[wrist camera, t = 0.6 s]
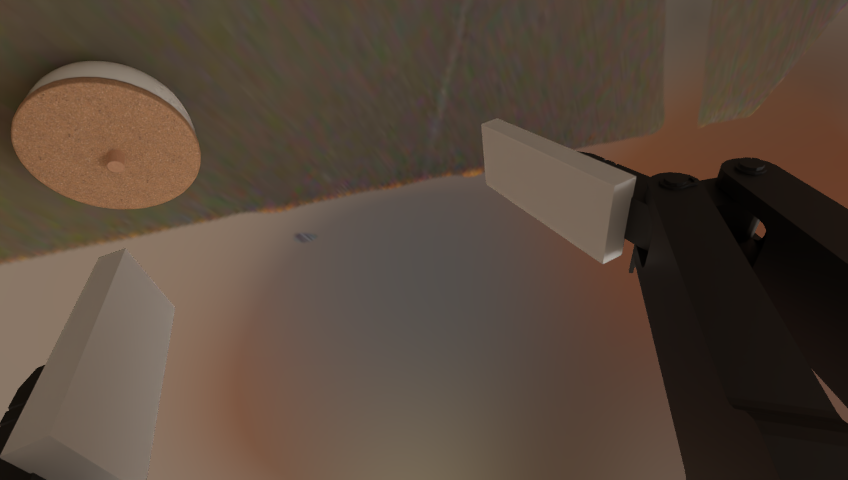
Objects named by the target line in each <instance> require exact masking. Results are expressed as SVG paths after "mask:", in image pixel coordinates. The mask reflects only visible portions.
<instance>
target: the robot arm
mask: <svg viewBox="0 0 848 480" xmlns="http://www.w3.org/2000/svg"><path fill="white" fill-rule="evenodd" d="M481 126H482V139H483V151H484V163H485V175H486V184H487V185H488V186H490V187H491V188H493V189H494V190H495V191H497V192H498V193H500V194H501V195H503V196H505V197H506V198H507V199H509V200H510V201H511V202H513V203H514V204H516V205H517V206H519V207H520V208H522V209H523V210H525V211H526V212H527V213H529V214H530V215H532V216H533V217H535V218H536V219H538V220H539V221H541V222H542V223H544V224H545V225H546V226H548V227H549V228H551V229H552V230H554V231H555V232H557V233H558V234H560V235H561V236H563V237H564V238H565V239H567V240H568V241H570V242H571V243H573V244H574V245H575V246H577V247H578V248H580V249H582V250H583V251H584V252H586V253H587V254H589V255H590V256H592V257H593V258H594V259H596V260H597V261H599V262H600V263H602V264H604V263H606V262H608V261H610V260H612V259H614V258H616V257H618V256H620V255H622V250H623V245H624V240H625V239H627V240H628V241H630V242H632V243H633V244H634V249H633V254H632V259H631V263H630V268H629V273H633V270H634V268H635V267H636V269H637V274H638V278H639V282H640V286H641V290H642V294H643V299H644V303H645V307H646V311H647V315H648V319H649V323H650V328H651V332H652V336H653V340H654V344H655V348H656V353H657V357H658V361H659V365H660V369H661V373H662V377H663V381H664V386H665V390H666V393H667V398H668V402H669V407H670V411H671V415H672V419H673V423H674V427H675V431H676V435H677V439H678V444H679V448H680V452H681V456H682V461H683V464H684V469H685V474H686V480H848V423H846V422H845V421H844V420H842V418H841V417H840V416H839V414H838V413H837V412H836V410H835V408H834V407H833V405H832V403H831V402H830V400H829V398H828V396H827V395H826V393H825V391H824V390H823V388H822V386H821V384H820V383H819V381H818V379H817V378H816V376H815V375H814V373H813V371H815V373H816V374H817V375H818V376H819V377H820V378H821V379H822V380H823V382H824V383H825V384H826V385H827V386H828V387H829V388H830V389H831V390H832V391H833V392H834V394H835V395H836V396H837V397H838V398H839V399H840V400H841V401H842V402H843V404H844V405H845V406H846V407H847V408H848V209H847V208H845V207H844V206H842V205H840V204H839V203H837V202H835V201H834V200H832V199H831V198H829V197H827V196H826V195H824V194H822V193H821V192H819V191H817V190H816V189H814V188H812V187H811V186H809V185H808V184H806V183H804V182H803V181H801V180H799V179H798V178H796V177H795V176H793V175H791V174H790V173H788V172H786V171H785V170H783V169H781V168H780V167H778V166H777V165H774V164H772V163H770V162H767V161H763V160H760V159H757V158H752V159H751V158H738V159H731V160H727V161H725V162H724V163H722V165H721V168H720V171H719V174H718V177H717V178H712V179H707V180H701V181H699V180H698V179H697V178H695V177H693V176H690V175H687V174H682V173H672V172H668V173H660V174H657V175H654V176H652V177H649V176H646V175H644V174H641V173H639V172H636V171H634V170H631V169H629V168H627V167H624V166H622V165H619V164H617V165H616V164H615V163H614V162H611V161H609V160H605V159H604V158H602V157H599V156H597V155H594V154H591V153H585V152H579V151H574V150H572V149H570V148H567V147H565V146H562V145H560V144H558V143H555V142H553V141H550V140H548V139H546V138H543V137H541V136H538V135H536V134H534V133H531V132H529V131H526V130H524V129H522V128H519V127H517V126H514V125H512V124H510V123H507V122H505V121H502V120H500V119H498V118H497V119H494V120H491V121H489V122H486V123H483V124H481ZM760 221H761V222H762V223H763V224H764V226H765V228H766V233H765V235H764V237H763V238H761V237H759V236H758V235H757V234H756V233H755V231H756V228H757V226H758V224H759V222H760ZM174 311H175V307H174V305H173V304H172V303H171V302H170V301H169V299H168V298H167V297H166V296H165V295H164V294H163V292H162V291H161V290H160V289H159V287H158V286H157V285H156V284H155V283H154V281H153V280H152V279H151V278H150V277H149V275H148V274H147V273H146V272H145V271H144V269H143V268H142V267H141V266H140V265H139V263H138V262H137V261H136V260H135V259H134V257H133V256H132V255H131V254H130V253H129V252H128V250H127V249H126V248H125V249H122V250H119V251H116V252H113V253H111V254H108V255H105V256H102V257H99V258H98V261H97V263H96V265H95V267H94V269H93V271H92V273H91V275H90V277H89V279H88V281H87V283H86V285H85V287H84V289H83V291H82V293H81V295H80V297H79V299H78V301H77V303H76V305H75V307H74V309H73V311H72V313H71V315H70V317H69V319H68V321H67V323H66V325H65V327H64V329H63V331H62V333H61V335H60V337H59V339H58V341H57V343H56V345H55V347H54V349H53V351H52V353H51V355H50V357H49V359H48V361H47V363H46V365H43V366H41V367H38V368H37V369H36V370H35V371H34V372H33V373H32V374H31V375H30V377H29V378H28V379H27V380H26V381H25V382H24V383H23V384H22V385H21V386H20V388H19V389H18V390H17V392H16V394H15V396H14V398H13V400H12V402H11V403H10V405H9V407H8V408H9V411H7V412H6V413H5V415H4V417H3V419H2V420H1V422H0V480H147V475H148V468H149V463H150V457H151V451H152V445H153V438H154V432H155V426H156V420H157V414H158V408H159V402H160V396H161V390H162V383H163V378H164V372H165V366H166V360H167V353H168V348H169V341H170V335H171V330H172V324H173V318H174ZM811 368H812V369H813V371H812V369H811Z"/></svg>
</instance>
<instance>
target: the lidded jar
mask: <svg viewBox="0 0 848 480" xmlns="http://www.w3.org/2000/svg"><path fill="white" fill-rule="evenodd" d="M11 141H12V144H13V147H14V150H15V153H16V154H17V156H18V158H19V159H20V161H21V163H22V164H23V165H24V166H25V167H26V169H27V170H28V171H29V172H30V173H31V174H32V175H33V176H34V177H36V178H37V179H38V180H39V181H40V182H42V183H43V184H45V185H46V186H48V187H49V188H51V189H52V190H54V191H56V192H58V193H60V194H62V195H64V196H66V197H68V198H71V199H74V200H76V201H79V202H82V203H86V204H89V205H92V206H98V207H104V208H112V209H138V208H146V207H151V206H155V205H158V204H162V203H165V202H167V201H169V200H171V199H173V198H175V197H177V196H178V195H180V194H181V193H183V192H184V191H185V190H186V189H187V188H188V187H189V186H190V185H191V184H192V183H193V181H194V180H195V178H196V176H197V174H198V172H199V168H200V164H201V153H200V148H199V143H198V139H197V137H196V134H195V130H194V126H193V124H192V122H191V119H190V117H189V115H188V113H187V111H186V110H185V108H184V106H183V105H182V104H181V102H180V101H179V100H178V98H177V97H176V96H175V95H174V94H173V93H172V92H171V91H170V90H169V89H168V88H167V87H166V86H165V85H163V84H162V83H160V82H159V81H158V80H156V79H155V78H153V77H151V76H149V75H148V74H146V73H144V72H142V71H140V70H137V69H135V68H132V67H130V66H126V65H123V64H119V63H114V62H108V61H81V62H75V63H71V64H67V65H64V66H62V67H60V68H57V69H55V70H53V71H51V72H50V73H48V74H47V75H45V76H44V77H42V78H41V79H40V80H39V81H38V82H37V83H36V84H35V85H34V86H33V88H32V89H31V90H30V91H29V93H28V94H27V96H26V98H25V99H24V100H23V101H22V103H21V104H20V105H19V107H18V109H17V111H16V113H15V115H14V117H13V120H12V125H11Z"/></svg>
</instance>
